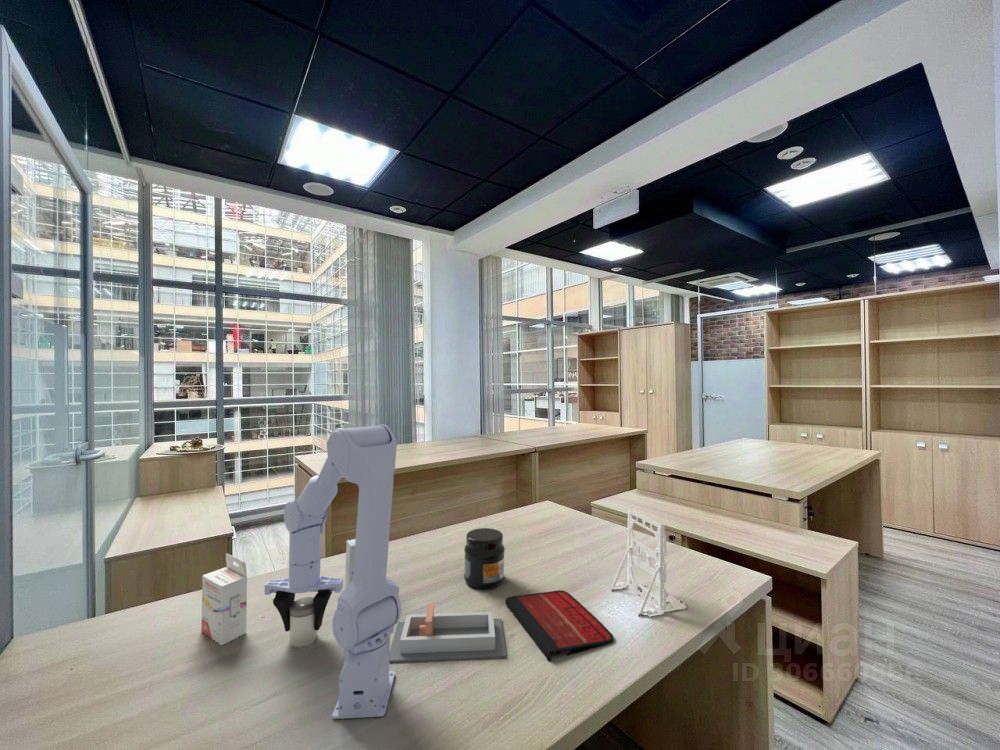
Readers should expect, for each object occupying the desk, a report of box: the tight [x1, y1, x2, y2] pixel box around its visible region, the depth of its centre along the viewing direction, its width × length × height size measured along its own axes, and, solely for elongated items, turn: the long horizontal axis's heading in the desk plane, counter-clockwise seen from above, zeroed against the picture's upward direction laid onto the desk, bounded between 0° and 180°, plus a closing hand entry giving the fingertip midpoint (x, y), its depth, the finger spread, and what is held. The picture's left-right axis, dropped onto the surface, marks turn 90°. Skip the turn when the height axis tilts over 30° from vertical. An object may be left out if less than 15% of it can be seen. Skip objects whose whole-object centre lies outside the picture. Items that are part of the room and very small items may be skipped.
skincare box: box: [344, 538, 356, 590], centre depth 101 cm, size 6×4×12 cm
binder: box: [504, 589, 614, 662], centre depth 89 cm, size 16×2×21 cm
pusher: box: [419, 604, 435, 636], centre depth 82 cm, size 6×3×5 cm, turn 4°
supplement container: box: [463, 527, 506, 590], centre depth 107 cm, size 10×10×12 cm
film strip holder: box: [611, 507, 667, 616], centre depth 99 cm, size 14×14×20 cm
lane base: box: [389, 611, 507, 664], centre depth 82 cm, size 12×22×3 cm, turn 94°
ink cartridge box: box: [200, 552, 248, 646], centre depth 84 cm, size 9×5×15 cm, turn 59°
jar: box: [289, 596, 318, 648], centre depth 82 cm, size 5×5×7 cm
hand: (303, 627), depth 82 cm, fingers closed on jar, 5 cm apart
